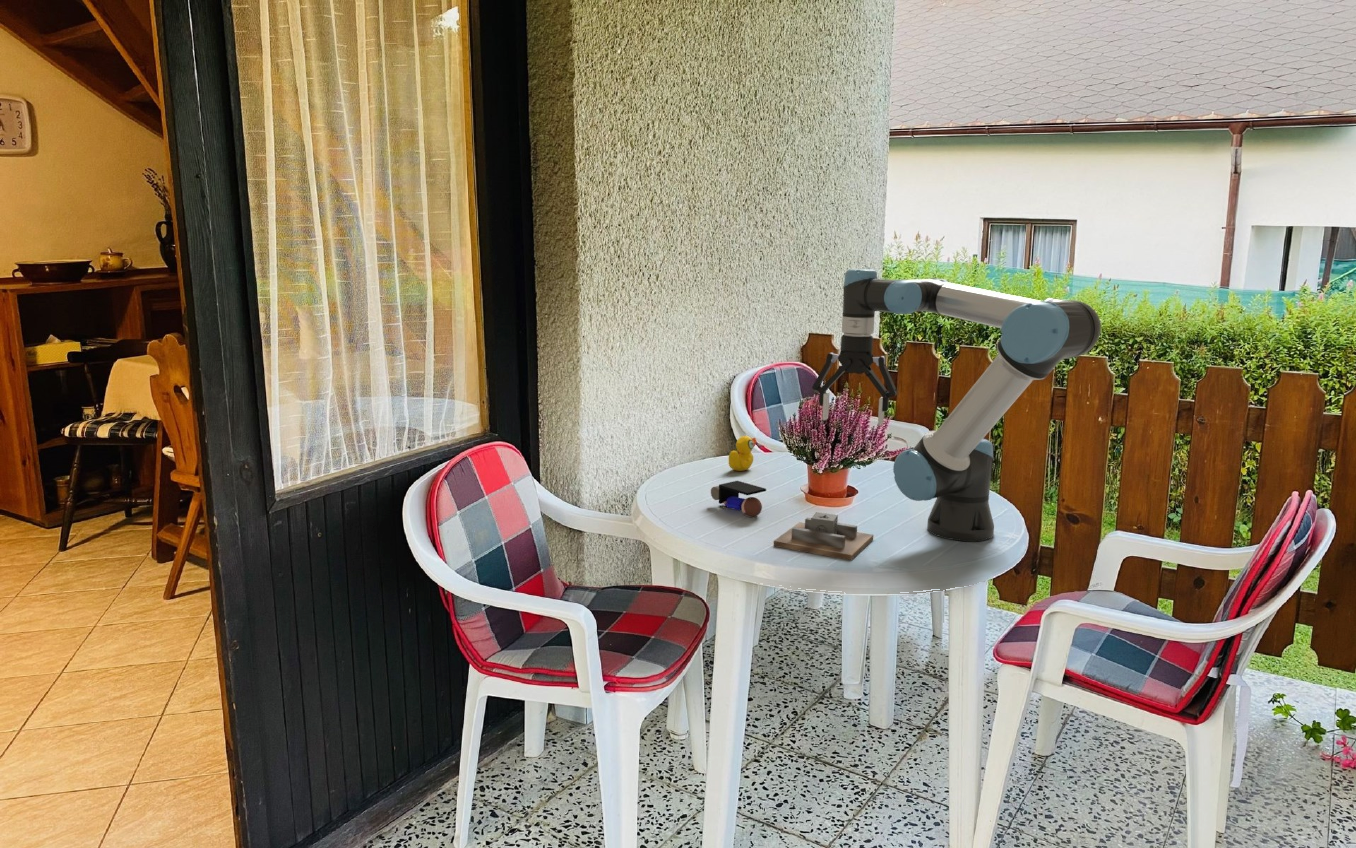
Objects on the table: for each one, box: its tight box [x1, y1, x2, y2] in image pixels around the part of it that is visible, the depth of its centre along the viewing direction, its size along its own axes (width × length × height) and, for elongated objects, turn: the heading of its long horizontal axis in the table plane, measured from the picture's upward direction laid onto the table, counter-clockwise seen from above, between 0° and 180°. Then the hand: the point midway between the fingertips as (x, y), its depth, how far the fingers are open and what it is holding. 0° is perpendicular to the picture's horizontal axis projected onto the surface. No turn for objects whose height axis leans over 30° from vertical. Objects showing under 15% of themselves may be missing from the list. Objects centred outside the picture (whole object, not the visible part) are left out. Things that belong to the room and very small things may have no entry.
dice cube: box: [810, 512, 839, 534], centre depth 212 cm, size 5×5×5 cm
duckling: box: [728, 435, 757, 472], centre depth 274 cm, size 11×5×10 cm, turn 139°
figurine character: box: [710, 480, 767, 518], centre depth 234 cm, size 7×8×15 cm
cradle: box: [773, 517, 874, 561], centre depth 212 cm, size 18×16×4 cm
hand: (852, 421), depth 228 cm, fingers open, 13 cm apart
